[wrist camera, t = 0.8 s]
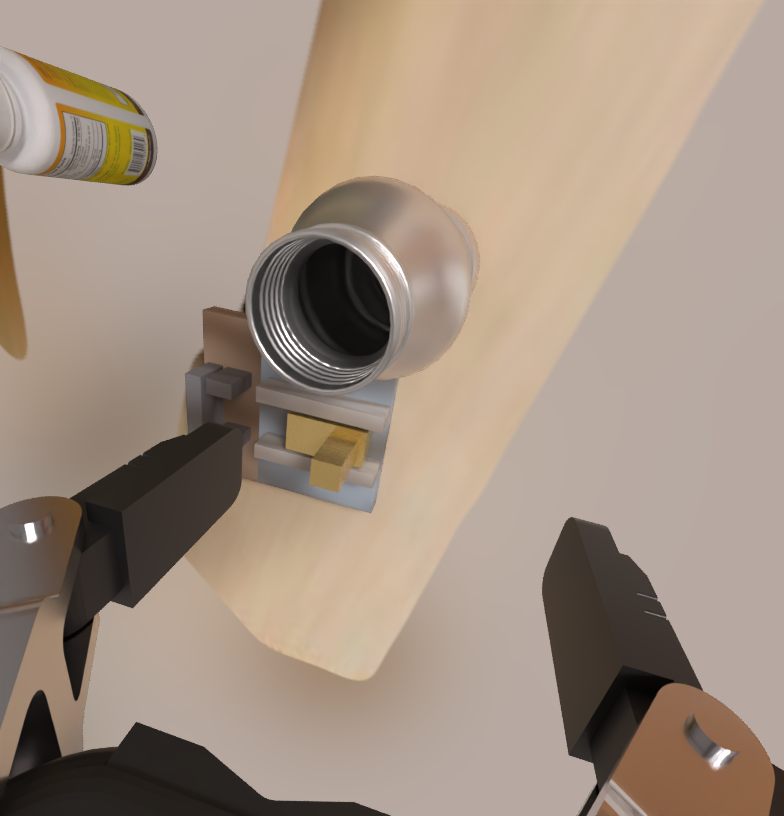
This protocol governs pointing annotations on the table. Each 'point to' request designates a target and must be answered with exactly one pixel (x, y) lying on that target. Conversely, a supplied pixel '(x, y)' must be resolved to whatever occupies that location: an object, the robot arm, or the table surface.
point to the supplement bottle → (70, 125)
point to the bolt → (328, 447)
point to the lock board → (280, 412)
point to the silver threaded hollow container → (362, 287)
